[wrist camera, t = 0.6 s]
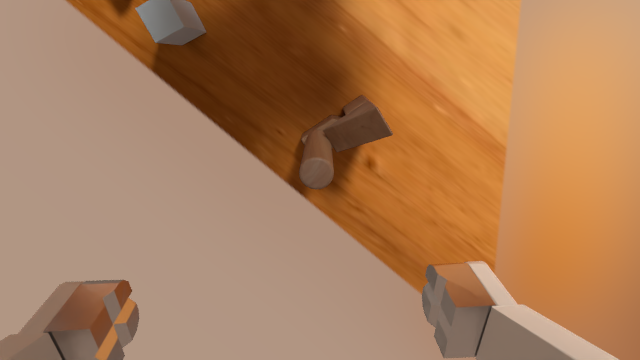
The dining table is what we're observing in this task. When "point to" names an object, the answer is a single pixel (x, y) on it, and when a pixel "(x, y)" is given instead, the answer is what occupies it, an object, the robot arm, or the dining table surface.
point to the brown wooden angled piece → (339, 139)
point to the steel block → (171, 21)
